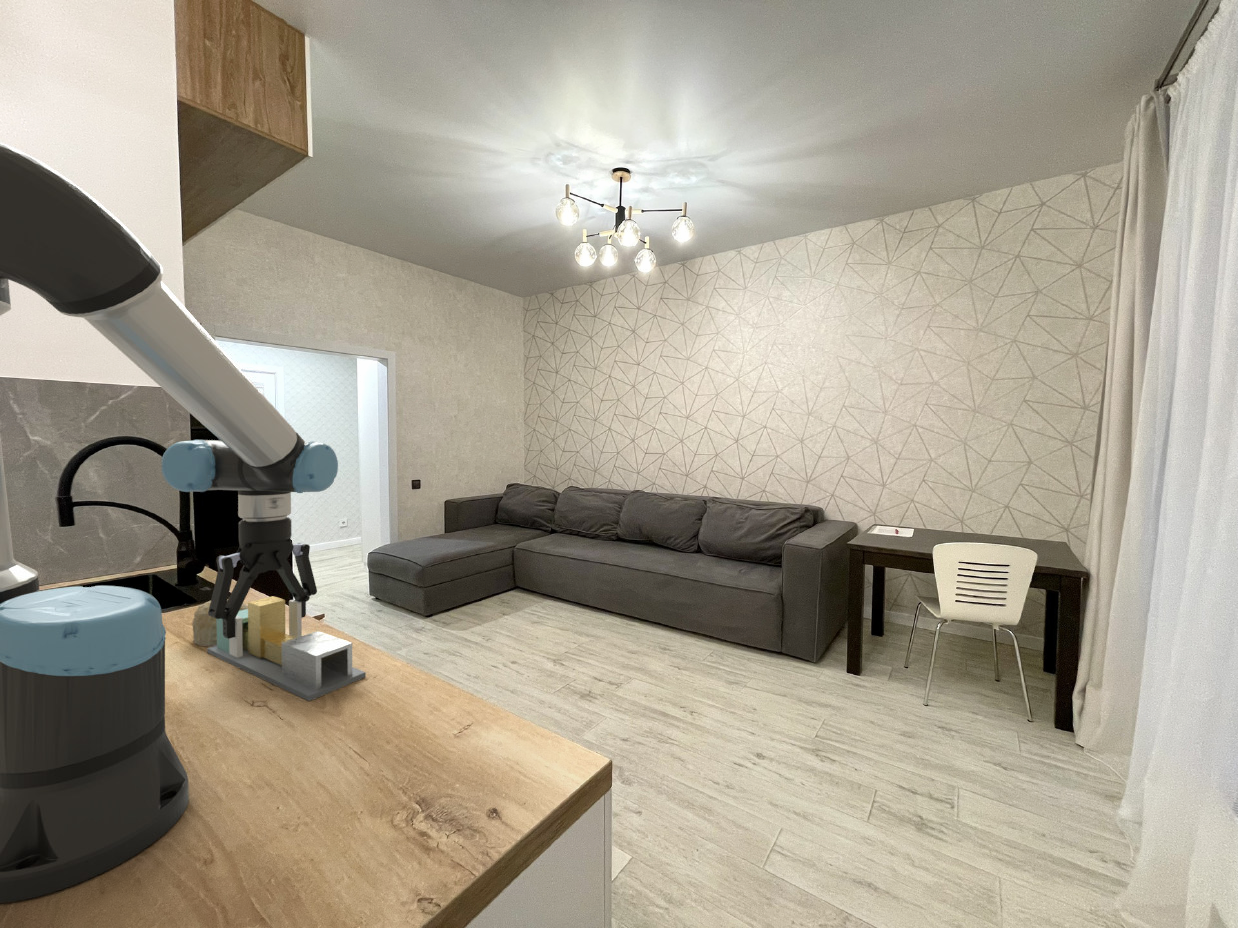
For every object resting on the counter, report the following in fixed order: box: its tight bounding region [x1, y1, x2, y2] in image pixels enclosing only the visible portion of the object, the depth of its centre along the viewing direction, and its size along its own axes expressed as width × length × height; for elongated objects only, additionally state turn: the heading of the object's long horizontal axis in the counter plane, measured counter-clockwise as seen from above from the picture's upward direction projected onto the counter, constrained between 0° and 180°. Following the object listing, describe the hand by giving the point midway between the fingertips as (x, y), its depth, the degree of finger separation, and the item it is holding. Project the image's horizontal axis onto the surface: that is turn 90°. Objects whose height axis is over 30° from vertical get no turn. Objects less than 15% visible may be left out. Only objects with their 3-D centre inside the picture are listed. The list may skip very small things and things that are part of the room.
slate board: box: [206, 645, 367, 702], centre depth 86 cm, size 9×32×1 cm, turn 61°
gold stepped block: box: [242, 595, 295, 665], centre depth 87 cm, size 4×20×9 cm, turn 61°
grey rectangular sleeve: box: [282, 630, 353, 689], centre depth 81 cm, size 6×10×5 cm, turn 61°
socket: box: [216, 609, 248, 653], centre depth 92 cm, size 7×5×6 cm
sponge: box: [192, 600, 248, 647], centre depth 97 cm, size 9×10×10 cm
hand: (267, 645), depth 88 cm, fingers open, 9 cm apart
